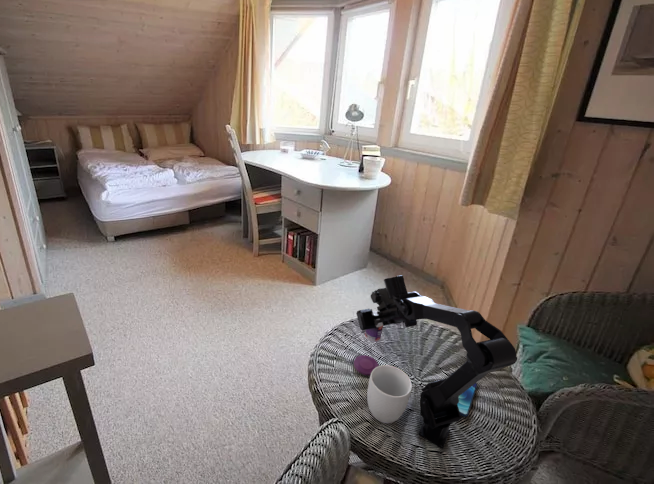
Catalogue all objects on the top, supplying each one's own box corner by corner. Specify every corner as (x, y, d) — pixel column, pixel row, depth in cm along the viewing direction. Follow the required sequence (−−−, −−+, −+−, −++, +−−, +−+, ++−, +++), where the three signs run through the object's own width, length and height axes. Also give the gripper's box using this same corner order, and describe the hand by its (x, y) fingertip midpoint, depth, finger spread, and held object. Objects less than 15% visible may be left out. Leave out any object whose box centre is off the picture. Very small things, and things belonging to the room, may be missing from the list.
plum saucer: (371, 379, 112) (372, 377, 112) (349, 367, 116) (349, 364, 116) (382, 365, 118) (382, 362, 117) (360, 353, 122) (360, 351, 122)
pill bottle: (378, 344, 120) (383, 321, 116) (363, 339, 122) (367, 316, 118) (381, 334, 124) (386, 312, 120) (366, 330, 126) (370, 307, 122)
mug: (386, 384, 111) (394, 352, 105) (418, 409, 103) (428, 376, 97) (355, 410, 102) (362, 377, 96) (387, 438, 94) (396, 404, 89)
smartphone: (477, 383, 111) (467, 416, 100) (477, 385, 111) (466, 418, 100) (452, 371, 115) (439, 401, 104) (451, 373, 115) (439, 404, 104)
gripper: (415, 282, 112) (390, 292, 127) (363, 290, 107) (343, 300, 121) (426, 317, 109) (399, 324, 123) (373, 328, 104) (351, 333, 118)
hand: (373, 319), depth 121 cm, fingers closed on pill bottle, 5 cm apart
